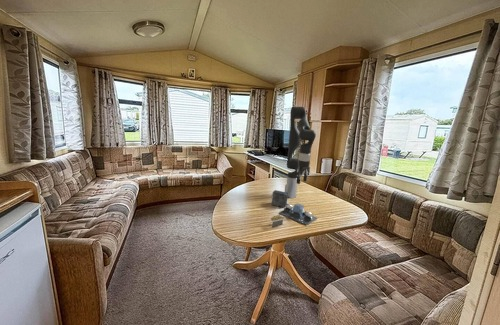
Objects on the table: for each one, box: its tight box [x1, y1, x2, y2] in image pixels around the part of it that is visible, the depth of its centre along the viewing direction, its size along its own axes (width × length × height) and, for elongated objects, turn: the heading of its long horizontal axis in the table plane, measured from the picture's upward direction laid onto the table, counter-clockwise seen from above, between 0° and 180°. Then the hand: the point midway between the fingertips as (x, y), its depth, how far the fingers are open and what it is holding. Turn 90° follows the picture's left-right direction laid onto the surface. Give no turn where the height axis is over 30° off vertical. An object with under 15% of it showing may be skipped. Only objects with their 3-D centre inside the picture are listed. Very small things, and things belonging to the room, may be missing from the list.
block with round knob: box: [293, 203, 305, 216], centre depth 146 cm, size 7×4×7 cm, turn 45°
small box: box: [271, 189, 288, 209], centre depth 163 cm, size 11×6×10 cm, turn 65°
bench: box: [278, 203, 318, 226], centre depth 146 cm, size 21×14×6 cm, turn 45°
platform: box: [270, 214, 286, 228], centre depth 132 cm, size 12×18×7 cm, turn 121°
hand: (301, 182), depth 147 cm, fingers open, 8 cm apart
